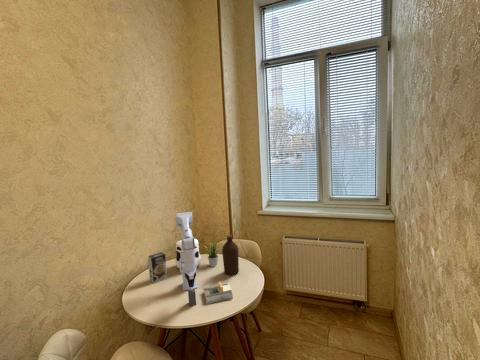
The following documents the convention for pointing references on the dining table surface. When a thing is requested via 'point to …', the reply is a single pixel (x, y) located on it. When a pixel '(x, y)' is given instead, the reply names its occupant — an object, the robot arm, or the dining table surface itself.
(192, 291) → the plug
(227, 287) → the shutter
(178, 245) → the milk container
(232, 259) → the olive oil
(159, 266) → the coffee box
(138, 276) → the dining table surface
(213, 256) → the house plant
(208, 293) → the socket
